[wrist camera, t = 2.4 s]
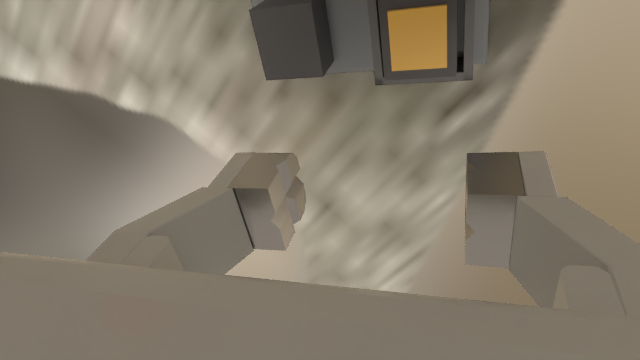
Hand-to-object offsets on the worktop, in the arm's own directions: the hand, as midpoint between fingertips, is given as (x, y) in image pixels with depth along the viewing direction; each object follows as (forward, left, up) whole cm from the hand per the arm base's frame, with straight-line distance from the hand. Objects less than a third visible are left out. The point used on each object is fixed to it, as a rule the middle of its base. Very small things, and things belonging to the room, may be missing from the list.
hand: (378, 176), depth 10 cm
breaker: (0, 0, -13) cm, 13 cm away
